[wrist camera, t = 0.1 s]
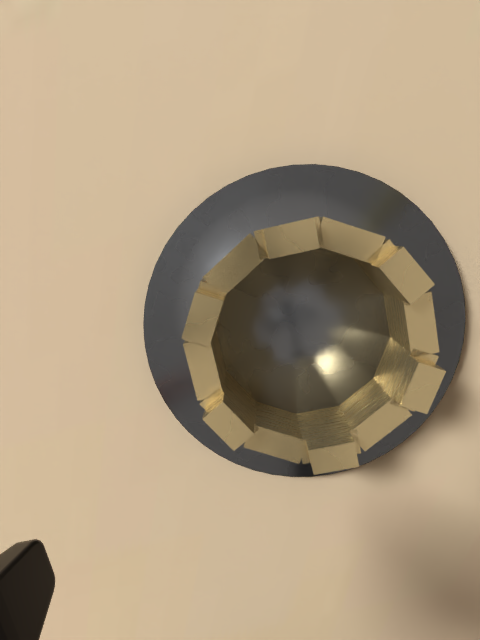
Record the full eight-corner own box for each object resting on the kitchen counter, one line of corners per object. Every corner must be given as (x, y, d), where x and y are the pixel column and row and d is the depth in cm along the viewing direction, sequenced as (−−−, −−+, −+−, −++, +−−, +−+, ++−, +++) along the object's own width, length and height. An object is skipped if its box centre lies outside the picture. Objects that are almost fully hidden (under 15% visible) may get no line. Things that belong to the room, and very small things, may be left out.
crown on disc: (471, 437, 23) (528, 490, 18) (189, 489, 24) (174, 552, 19) (435, 132, 20) (492, 101, 15) (112, 208, 21) (71, 201, 16)
